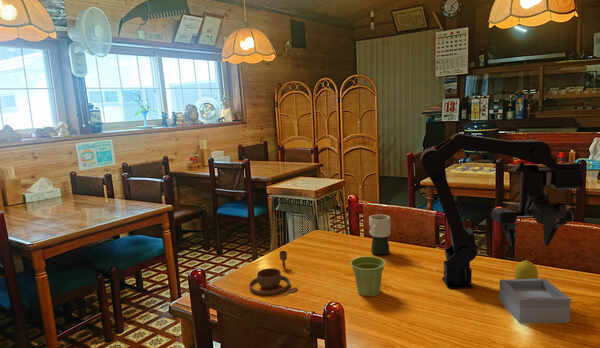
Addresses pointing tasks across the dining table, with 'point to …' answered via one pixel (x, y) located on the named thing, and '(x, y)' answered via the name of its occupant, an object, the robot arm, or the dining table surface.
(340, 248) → the dining table surface
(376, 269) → the plant pot
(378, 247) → the character mug
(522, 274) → the lemon
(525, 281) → the grey open box
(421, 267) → the dining table surface
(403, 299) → the dining table surface
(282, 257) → the place setting
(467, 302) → the dining table surface
